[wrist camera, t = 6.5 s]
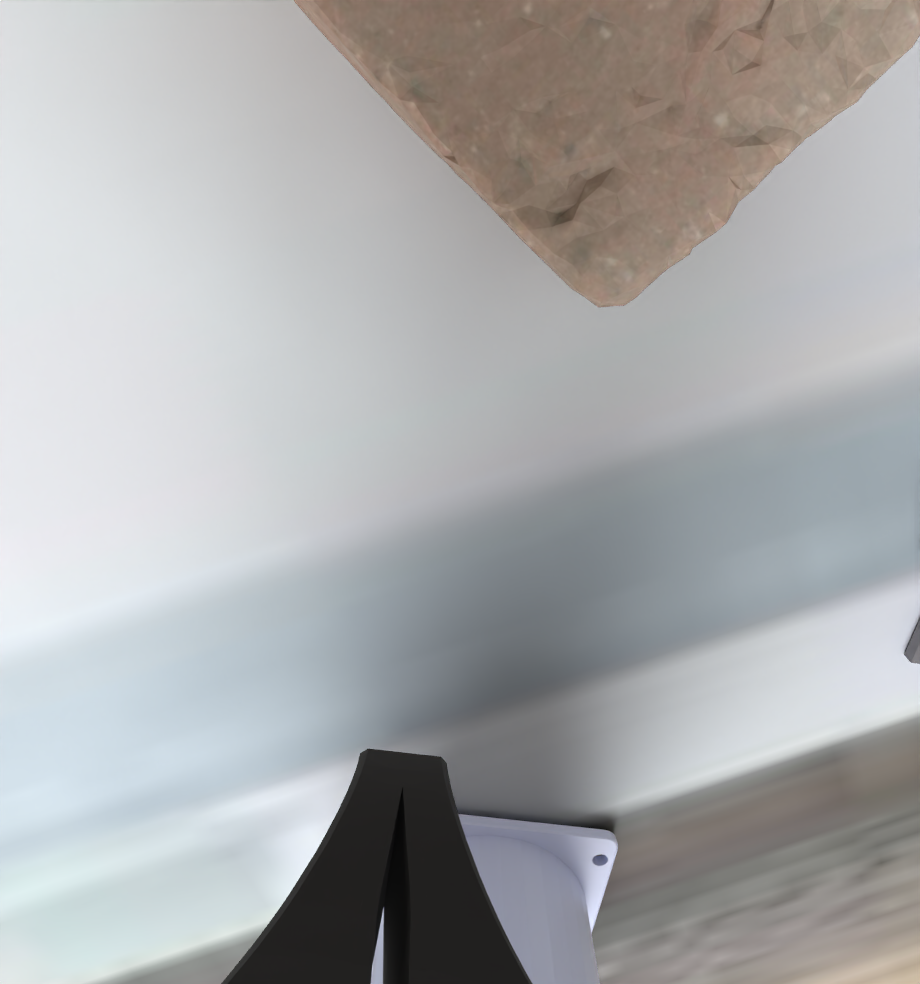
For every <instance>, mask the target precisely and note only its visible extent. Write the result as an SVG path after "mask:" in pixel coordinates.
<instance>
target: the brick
mask: <svg viewBox="0 0 920 984" xmlns="http://www.w3.org/2000/svg"><path fill="white" fill-rule="evenodd" d="M294 1H295V3H296V4H297V5H298V6H299V7H300V8H301V10H302V11H303V12H304V13H305V14H306V15H307V17H308V18H309V19H310V20H311V21H312V22H313V23H314V24H315V26H316V27H317V28H318V29H319V30H320V31H321V32H322V33H323V34H324V36H325V37H326V38H327V39H328V40H329V41H330V42H331V43H332V44H333V45H334V46H335V47H336V49H337V50H338V51H339V52H340V53H341V54H342V55H343V56H344V57H345V58H346V59H347V60H348V61H349V62H350V63H351V65H352V66H353V67H354V68H355V69H356V70H357V71H358V72H359V73H360V74H361V76H362V77H363V78H364V79H365V80H366V81H367V82H368V83H369V84H370V85H371V86H372V87H373V88H374V89H375V91H376V92H377V93H378V94H379V95H380V96H381V97H382V98H383V99H384V100H385V101H386V102H387V103H388V104H389V105H390V107H391V108H392V109H393V110H394V111H395V112H396V113H397V114H398V115H399V116H400V117H401V118H402V120H403V121H404V122H405V123H406V124H407V125H408V126H409V127H410V128H411V129H412V130H413V131H414V132H415V133H416V134H417V135H418V136H419V137H420V138H421V139H422V140H423V141H424V142H425V143H426V144H427V145H428V146H429V147H430V148H431V149H432V150H433V151H434V152H435V153H436V154H437V155H438V156H439V157H440V158H442V159H443V160H444V161H445V162H446V163H447V164H448V165H449V166H450V167H451V168H452V169H453V170H454V172H455V173H456V174H457V175H458V176H459V177H460V178H461V179H463V180H464V181H465V182H466V183H467V184H468V185H469V186H470V187H471V188H472V189H473V190H474V191H475V192H476V193H477V194H478V195H479V196H480V197H481V198H482V199H483V200H484V201H485V202H486V203H487V204H488V205H489V206H490V207H491V208H492V209H493V210H494V211H495V212H496V213H497V214H498V215H499V216H500V217H501V219H502V220H503V221H504V222H505V223H506V224H507V225H508V226H509V227H510V228H511V229H512V230H513V231H514V232H515V233H516V235H517V236H518V237H519V238H520V239H521V240H522V241H523V242H524V243H525V244H526V245H527V246H529V247H530V248H531V249H532V250H533V251H534V252H535V253H536V254H537V255H538V256H539V257H540V258H541V259H542V260H543V261H544V262H545V263H546V264H547V265H548V266H549V267H550V268H551V269H552V270H553V271H554V272H555V273H556V274H557V275H558V276H559V277H560V278H561V279H562V280H563V281H564V282H565V283H566V284H567V285H568V286H569V287H570V288H571V289H573V290H574V291H576V292H578V293H579V294H581V295H582V296H584V297H585V298H586V299H588V300H589V301H591V302H592V303H593V304H595V305H596V306H597V307H608V306H624V305H626V304H627V303H629V302H630V301H631V300H633V299H634V298H636V297H637V296H638V295H639V294H640V293H641V292H642V291H643V290H644V289H645V288H646V287H647V286H649V285H650V284H651V283H652V282H653V281H654V280H655V279H656V278H658V277H659V276H660V275H661V274H662V273H663V272H665V271H666V270H667V269H668V268H670V267H671V266H673V265H674V264H676V263H677V262H679V261H680V260H682V259H683V258H685V257H686V256H688V255H689V254H690V252H691V250H692V248H693V247H695V246H696V245H698V244H699V243H701V242H702V241H704V240H705V239H707V238H708V237H710V236H711V235H713V234H714V233H716V232H717V231H718V230H719V229H720V228H721V227H722V226H724V225H725V224H726V223H727V221H728V219H729V218H730V216H731V214H732V212H733V211H734V209H735V207H736V206H737V204H738V202H739V201H740V200H742V199H743V198H744V197H745V196H746V195H748V194H749V193H750V192H751V191H753V190H754V189H755V188H756V186H757V185H758V184H759V183H760V182H761V181H762V180H763V179H764V178H765V177H766V176H767V175H768V174H769V173H770V172H771V170H772V169H773V168H774V167H775V166H776V165H777V164H779V163H781V162H782V161H783V160H784V159H785V158H786V157H787V156H788V155H789V154H790V153H791V152H792V151H793V150H794V149H795V148H796V147H797V146H798V145H799V144H801V143H802V142H803V141H804V140H805V139H806V138H807V137H809V136H811V135H812V134H813V133H815V132H816V131H817V130H819V129H820V128H821V127H823V126H824V125H825V124H827V123H828V122H829V121H830V120H832V119H833V118H834V117H835V116H836V115H838V114H839V113H841V112H842V111H844V110H845V109H847V108H848V107H850V106H852V105H853V104H855V103H856V102H857V101H858V100H859V99H860V98H861V96H862V95H863V94H864V93H865V92H866V90H867V89H868V88H869V87H870V86H871V85H872V84H873V83H874V82H875V81H876V80H877V79H879V78H880V77H881V76H882V75H883V74H884V73H885V72H886V71H887V70H888V69H889V68H890V67H891V66H892V65H893V64H894V63H895V62H896V61H897V60H898V59H900V58H901V57H902V56H903V55H904V54H905V53H906V52H907V51H908V50H909V49H911V48H912V47H913V45H914V43H915V42H916V40H917V39H918V37H919V35H920V0H294Z"/></svg>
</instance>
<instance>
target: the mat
mask: <svg viewBox="0 0 920 984" xmlns="http://www.w3.org/2000/svg"><path fill="white" fill-rule="evenodd" d="M904 655H905V656H906V657H907V659H908V660H909V661H910V662H911V663H919V664H920V620H919V622H918V625H917V627H916V629H915V631H914V634H913V636H912V638H911V640H910V642H909V645H908V647H907V649H906V651H905V654H904Z"/></svg>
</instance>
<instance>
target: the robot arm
mask: <svg viewBox="0 0 920 984" xmlns="http://www.w3.org/2000/svg"><path fill="white" fill-rule="evenodd" d="M617 850H618V843H617V839H616V837H615V835H614V834H613V833H612V832H610V831H607V830H602V829H593V828H583V827H574V826H565V825H556V824H546V823H537V822H528V821H519V820H509V819H500V818H491V817H482V816H472V815H463V814H458V812H457V808H456V805H455V801H454V798H453V794H452V790H451V786H450V781H449V776H448V770H447V763H446V762H445V761H444V760H443V759H442V757H437V756H428V755H419V754H411V753H402V752H393V751H384V750H375V749H367V750H365V751H363V752H362V753H360V757H359V761H358V765H357V768H356V771H355V773H354V776H353V779H352V782H351V784H350V786H349V789H348V791H347V793H346V795H345V798H344V800H343V802H342V804H341V806H340V808H339V810H338V812H337V814H336V816H335V818H334V820H333V822H332V824H331V825H330V827H329V829H328V831H327V833H326V835H325V837H324V838H323V840H322V842H321V844H320V846H319V848H318V849H317V851H316V853H315V854H314V856H313V858H312V859H311V861H310V862H309V864H308V866H307V867H306V869H305V870H304V872H303V874H302V875H301V877H300V878H299V880H298V881H297V883H296V885H295V886H294V888H293V889H292V891H291V893H290V894H289V896H288V897H287V898H286V900H285V901H284V903H283V904H282V906H281V907H280V909H279V910H278V911H277V913H276V914H275V916H274V917H273V918H272V920H271V921H270V923H269V924H268V925H267V927H266V928H265V929H264V931H263V932H262V933H261V935H260V936H259V937H258V939H257V940H256V941H255V943H254V944H253V945H252V947H251V948H250V949H249V950H248V952H247V953H246V954H245V955H244V957H243V958H242V959H241V960H240V961H239V963H238V964H237V965H236V966H235V968H234V969H233V970H232V971H231V973H230V974H229V975H228V976H227V978H226V979H225V980H224V981H223V982H222V984H600V980H599V974H598V968H597V962H596V957H595V951H594V945H593V939H592V931H593V927H594V924H595V921H596V918H597V915H598V911H599V908H600V905H601V902H602V899H603V895H604V892H605V889H606V886H607V883H608V879H609V876H610V873H611V870H612V867H613V863H614V860H615V857H616V854H617ZM600 854H602V855H601V856H596V855H600Z"/></svg>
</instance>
